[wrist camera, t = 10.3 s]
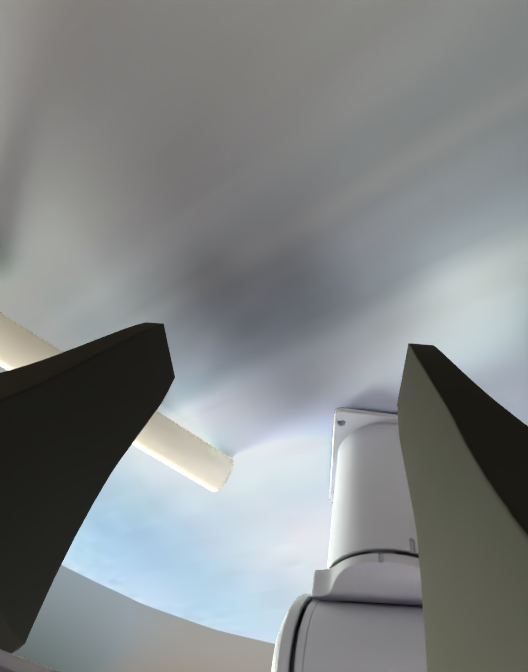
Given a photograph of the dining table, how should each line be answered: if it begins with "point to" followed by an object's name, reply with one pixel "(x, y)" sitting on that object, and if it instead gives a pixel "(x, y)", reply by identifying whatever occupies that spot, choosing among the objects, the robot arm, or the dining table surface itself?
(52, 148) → the dining table surface
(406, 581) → the robot arm
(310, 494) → the dining table surface
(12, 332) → the paper towel holder
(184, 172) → the dining table surface
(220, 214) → the dining table surface
